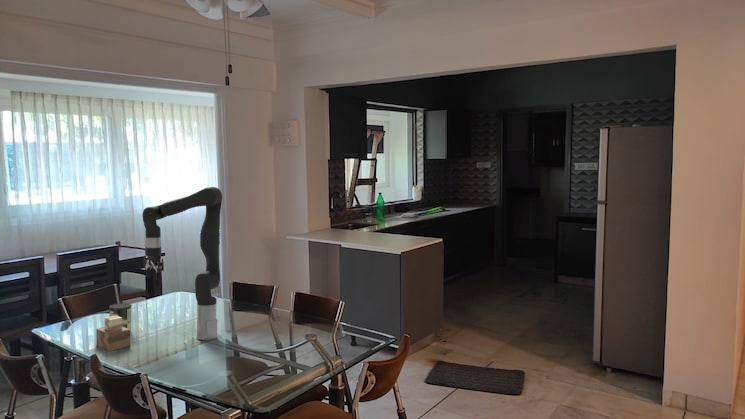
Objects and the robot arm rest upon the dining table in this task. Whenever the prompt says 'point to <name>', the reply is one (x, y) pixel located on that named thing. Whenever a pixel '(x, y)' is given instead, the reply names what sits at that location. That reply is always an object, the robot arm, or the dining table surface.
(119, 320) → the birch cube
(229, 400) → the dining table surface
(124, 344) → the walnut stand
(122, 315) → the coffee can
